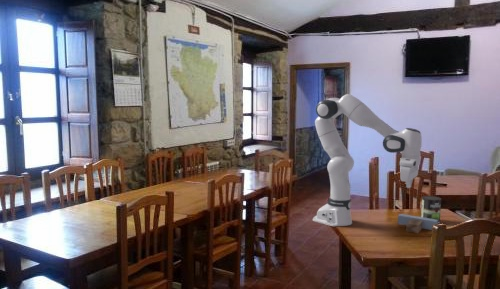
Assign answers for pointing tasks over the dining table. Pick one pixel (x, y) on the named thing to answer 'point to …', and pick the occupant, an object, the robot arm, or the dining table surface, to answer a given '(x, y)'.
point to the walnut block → (414, 226)
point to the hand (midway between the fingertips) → (408, 187)
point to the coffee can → (431, 207)
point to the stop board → (426, 222)
